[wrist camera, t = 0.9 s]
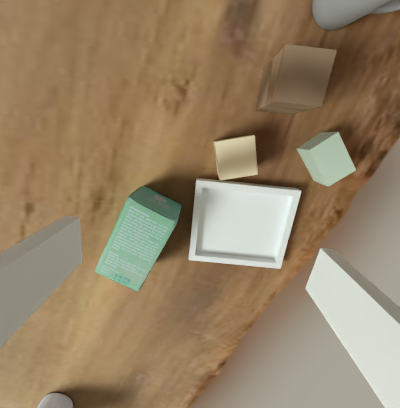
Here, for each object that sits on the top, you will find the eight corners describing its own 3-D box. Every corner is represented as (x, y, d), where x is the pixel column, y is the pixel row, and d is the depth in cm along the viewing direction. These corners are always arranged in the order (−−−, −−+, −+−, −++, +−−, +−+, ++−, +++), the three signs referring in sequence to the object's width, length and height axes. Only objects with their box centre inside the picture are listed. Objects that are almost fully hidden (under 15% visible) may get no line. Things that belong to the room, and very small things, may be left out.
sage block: (296, 148, 30) (309, 150, 27) (320, 132, 30) (338, 131, 26) (313, 180, 32) (328, 186, 28) (337, 166, 31) (356, 170, 27)
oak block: (213, 141, 30) (215, 142, 25) (246, 135, 30) (254, 135, 25) (217, 173, 32) (220, 180, 27) (249, 168, 31) (257, 174, 27)
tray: (196, 177, 32) (196, 180, 30) (296, 188, 32) (301, 190, 30) (189, 254, 36) (188, 259, 35) (276, 262, 37) (280, 268, 35)
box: (184, 203, 33) (178, 221, 26) (151, 263, 37) (138, 293, 30) (143, 182, 32) (126, 195, 25) (114, 246, 36) (92, 273, 29)
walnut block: (263, 69, 27) (286, 44, 19) (299, 74, 27) (337, 50, 20) (256, 110, 29) (274, 101, 21) (290, 114, 29) (322, 106, 21)
